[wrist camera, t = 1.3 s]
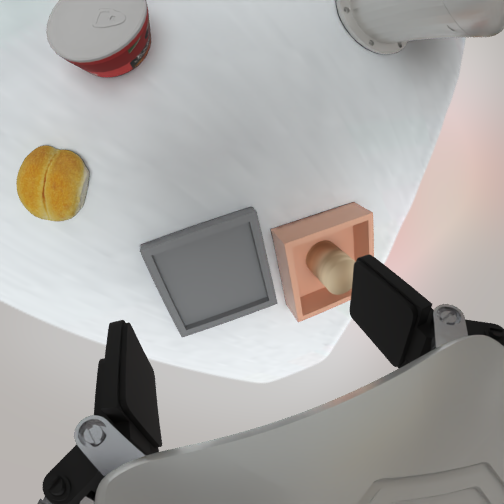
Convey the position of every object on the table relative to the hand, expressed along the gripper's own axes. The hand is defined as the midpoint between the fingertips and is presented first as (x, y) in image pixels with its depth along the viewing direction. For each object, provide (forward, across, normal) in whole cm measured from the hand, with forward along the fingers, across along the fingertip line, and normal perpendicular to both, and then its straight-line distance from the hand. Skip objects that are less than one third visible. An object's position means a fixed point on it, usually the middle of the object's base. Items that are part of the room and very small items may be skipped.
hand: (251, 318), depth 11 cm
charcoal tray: (+24, 0, +12) cm, 27 cm away
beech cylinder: (+23, -16, +14) cm, 31 cm away
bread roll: (+24, +15, -4) cm, 29 cm away
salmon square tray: (+24, -16, +14) cm, 32 cm away
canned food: (+24, +6, -17) cm, 30 cm away
